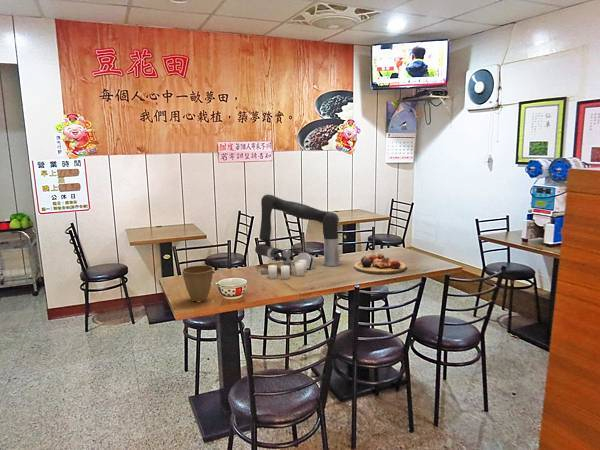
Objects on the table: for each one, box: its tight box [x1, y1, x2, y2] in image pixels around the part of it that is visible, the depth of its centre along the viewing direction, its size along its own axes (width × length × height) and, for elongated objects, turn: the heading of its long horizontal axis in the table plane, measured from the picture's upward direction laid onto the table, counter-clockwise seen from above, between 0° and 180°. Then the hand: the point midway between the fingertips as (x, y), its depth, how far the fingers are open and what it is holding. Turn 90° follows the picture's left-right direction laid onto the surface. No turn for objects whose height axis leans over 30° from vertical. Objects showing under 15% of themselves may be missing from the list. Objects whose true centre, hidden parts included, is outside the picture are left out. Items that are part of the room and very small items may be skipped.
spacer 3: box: [294, 263, 305, 277], centre depth 257 cm, size 5×5×7 cm
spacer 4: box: [298, 260, 308, 274], centre depth 264 cm, size 5×5×7 cm
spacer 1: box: [267, 264, 278, 280], centre depth 253 cm, size 5×5×7 cm
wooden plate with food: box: [353, 253, 407, 275], centre depth 268 cm, size 32×32×8 cm
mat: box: [260, 269, 269, 275], centre depth 265 cm, size 8×8×1 cm
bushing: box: [282, 248, 293, 271], centre depth 259 cm, size 5×5×12 cm
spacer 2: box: [280, 264, 291, 280], centre depth 251 cm, size 5×5×7 cm
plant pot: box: [181, 265, 214, 302], centre depth 216 cm, size 15×15×16 cm
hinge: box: [293, 252, 315, 270], centre depth 276 cm, size 17×5×10 cm, turn 27°
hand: (289, 258), depth 256 cm, fingers closed on bushing, 4 cm apart
